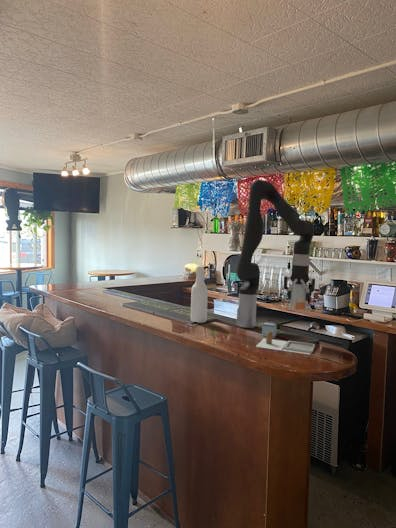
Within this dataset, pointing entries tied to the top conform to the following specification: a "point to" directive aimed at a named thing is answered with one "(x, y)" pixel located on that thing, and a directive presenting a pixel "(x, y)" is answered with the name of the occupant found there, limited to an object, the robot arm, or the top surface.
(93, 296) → the top surface
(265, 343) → the board
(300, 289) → the skincare box
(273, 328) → the blue-grey block
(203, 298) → the alcohol
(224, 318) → the top surface
